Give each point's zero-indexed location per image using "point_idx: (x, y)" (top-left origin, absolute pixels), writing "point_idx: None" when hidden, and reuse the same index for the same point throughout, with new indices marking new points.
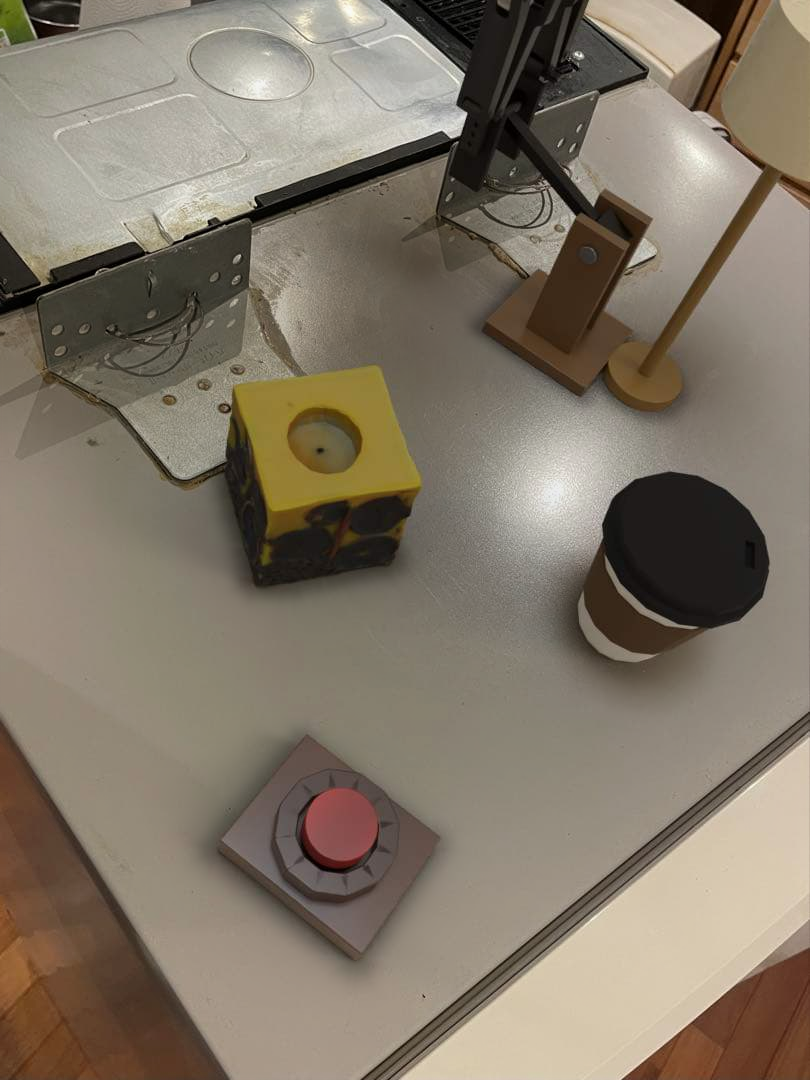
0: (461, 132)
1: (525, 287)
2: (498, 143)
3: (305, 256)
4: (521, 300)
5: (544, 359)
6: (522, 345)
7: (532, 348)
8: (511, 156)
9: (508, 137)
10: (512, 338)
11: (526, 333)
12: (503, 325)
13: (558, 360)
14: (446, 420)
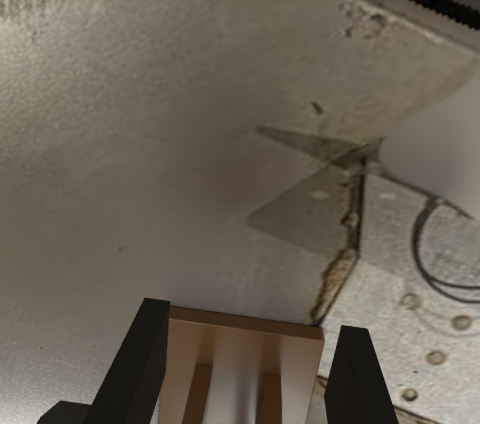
0: (96, 397)
1: (270, 339)
2: (337, 365)
3: (97, 5)
4: (240, 343)
5: (160, 398)
6: None
7: (165, 382)
8: (326, 393)
9: (337, 408)
10: None
11: (185, 367)
12: (175, 339)
13: (173, 411)
14: (5, 324)
